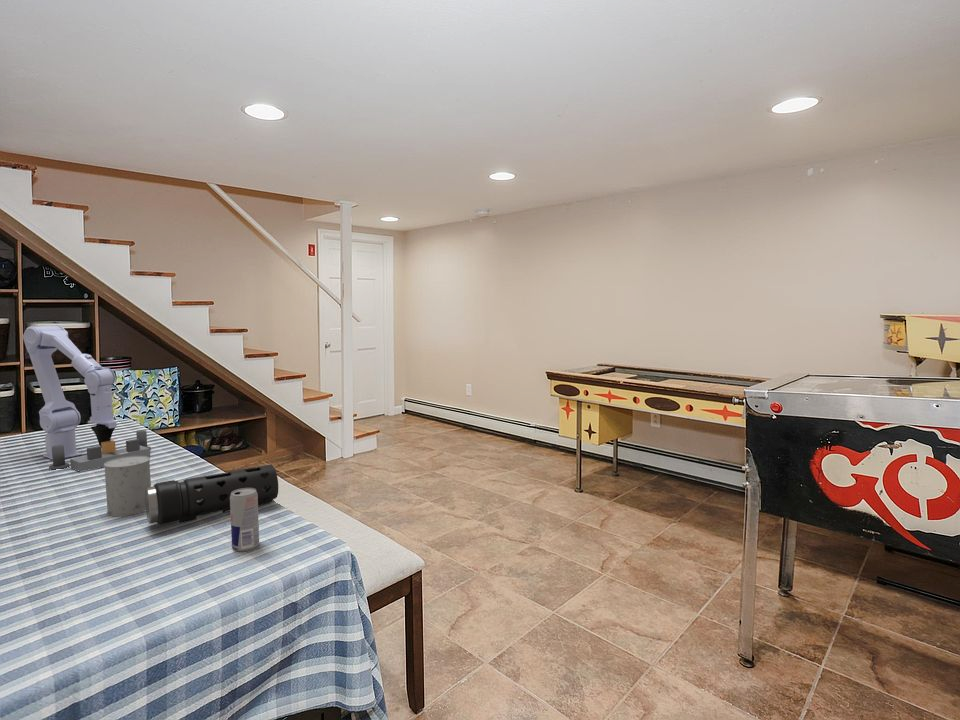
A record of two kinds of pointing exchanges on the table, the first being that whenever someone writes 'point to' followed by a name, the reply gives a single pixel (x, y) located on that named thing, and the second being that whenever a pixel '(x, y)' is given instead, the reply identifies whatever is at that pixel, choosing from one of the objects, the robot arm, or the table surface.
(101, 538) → the table surface
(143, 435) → the post
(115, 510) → the concrete cylinder
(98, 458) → the box
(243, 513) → the energy drink
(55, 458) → the grey disc-based knob
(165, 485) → the muzzle brake
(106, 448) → the switch
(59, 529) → the table surface
